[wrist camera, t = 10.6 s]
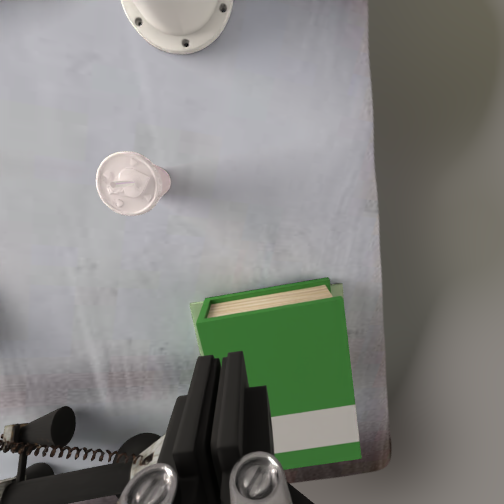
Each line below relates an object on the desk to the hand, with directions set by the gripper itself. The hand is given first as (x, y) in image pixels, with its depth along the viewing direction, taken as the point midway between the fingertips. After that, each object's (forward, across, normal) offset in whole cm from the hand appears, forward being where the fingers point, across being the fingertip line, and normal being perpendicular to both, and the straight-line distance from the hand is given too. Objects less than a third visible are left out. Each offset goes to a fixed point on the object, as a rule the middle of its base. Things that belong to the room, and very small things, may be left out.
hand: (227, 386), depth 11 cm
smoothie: (+31, +10, -7) cm, 34 cm away
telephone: (+30, +29, +32) cm, 53 cm away
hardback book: (+27, -2, +9) cm, 28 cm away
